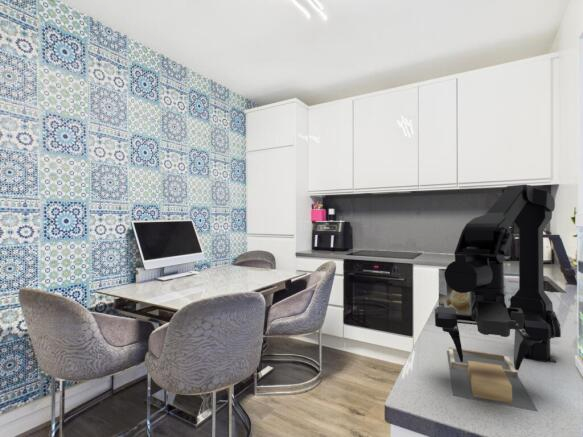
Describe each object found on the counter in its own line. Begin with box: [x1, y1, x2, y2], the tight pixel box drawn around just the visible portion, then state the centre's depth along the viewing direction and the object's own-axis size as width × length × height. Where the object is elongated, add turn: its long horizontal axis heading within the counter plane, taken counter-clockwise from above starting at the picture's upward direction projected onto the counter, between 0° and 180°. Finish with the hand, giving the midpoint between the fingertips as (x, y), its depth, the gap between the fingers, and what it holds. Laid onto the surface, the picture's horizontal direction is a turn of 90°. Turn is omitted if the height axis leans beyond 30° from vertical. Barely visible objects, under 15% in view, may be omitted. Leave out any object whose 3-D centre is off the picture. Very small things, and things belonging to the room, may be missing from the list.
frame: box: [448, 347, 518, 378], centre depth 71 cm, size 9×12×1 cm
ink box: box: [504, 275, 519, 308], centre depth 117 cm, size 9×5×12 cm, turn 67°
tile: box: [468, 361, 512, 404], centre depth 61 cm, size 9×6×3 cm, turn 156°
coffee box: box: [438, 268, 470, 314], centre depth 109 cm, size 9×6×16 cm
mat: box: [446, 350, 539, 412], centre depth 66 cm, size 22×13×1 cm, turn 156°
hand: (488, 365), depth 61 cm, fingers open, 9 cm apart
